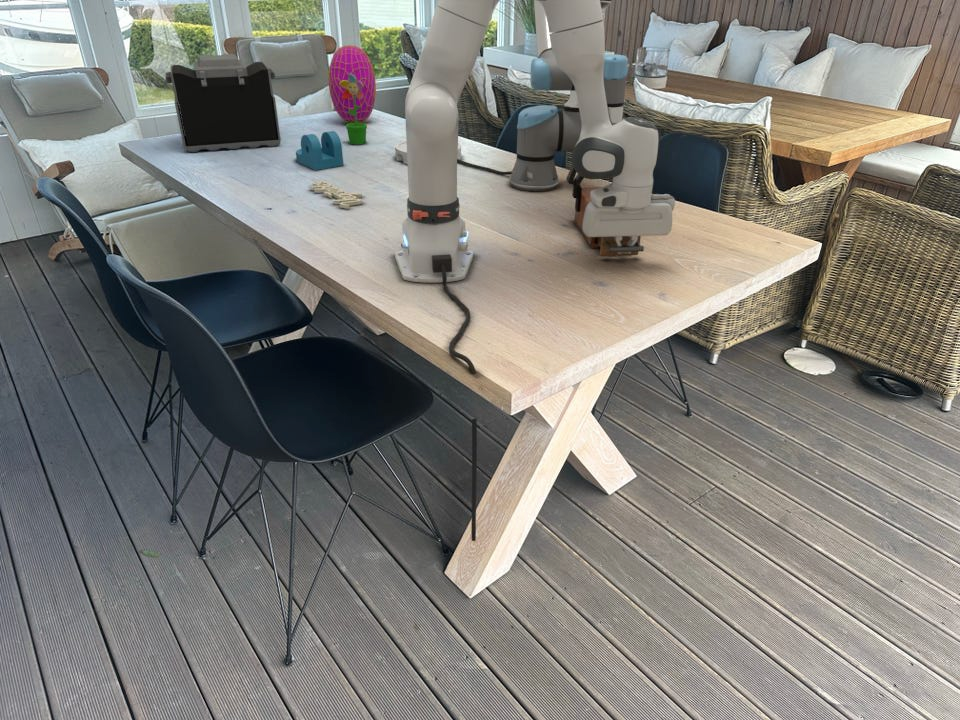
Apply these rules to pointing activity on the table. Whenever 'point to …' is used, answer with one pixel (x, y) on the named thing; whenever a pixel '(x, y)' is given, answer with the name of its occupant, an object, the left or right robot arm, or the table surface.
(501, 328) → the table surface
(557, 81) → the right robot arm
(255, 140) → the electronic device
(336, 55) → the decorative egg
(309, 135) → the camera mount
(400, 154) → the ashtray
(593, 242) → the cabinet
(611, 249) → the drawer
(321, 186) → the decorative sign
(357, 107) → the potted flower
